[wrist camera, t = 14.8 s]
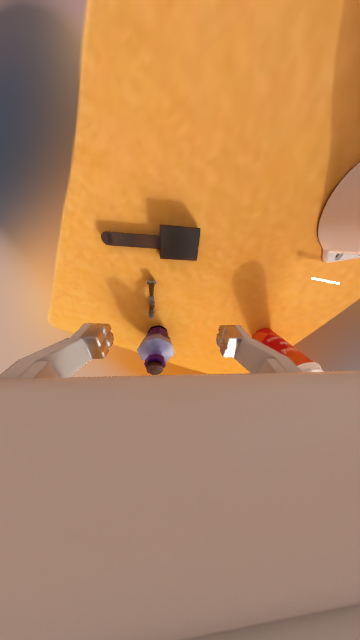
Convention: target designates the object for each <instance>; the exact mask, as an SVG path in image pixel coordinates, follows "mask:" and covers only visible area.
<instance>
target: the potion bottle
mask: <svg viewBox="0 0 360 640" xmlns="http://www.w3.org/2000/svg"><path fill="white" fill-rule="evenodd" d="M138 352H139V355H140V357H141V359H142V360H145V367H146V369H147V372H148V373H150V374H152V375H157V374H160V373H161V372H162V371H163V368H164V367H165V362H167V361H168V360H169V359H170V358H171V357H172V356H173V355H174V351H173V347H172V343H171V340H170V338H169V337H168V334H167V330H166V329H165V328H163V327H161V326H154V327H151V328H150V330H149V331H148V334H147V336H146V337H145V338H144V340H143V341H142V343H141V344H140V346H139V348H138Z"/></svg>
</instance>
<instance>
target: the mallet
mask: <svg viewBox="0 0 360 640" xmlns="http://www.w3.org/2000/svg"><path fill="white" fill-rule="evenodd" d="M101 238H102V241H103V242H104V243H105V244H106V245H113V246H127V247H141V248H156V249H160V259H175V260H192V261H196V260H197V254H198V246H199V238H200V228H193V227H182V226H171V225H160V236H155V235H142V234H130V233H117V232H103V233H102V235H101Z"/></svg>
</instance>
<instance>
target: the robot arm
mask: <svg viewBox="0 0 360 640" xmlns="http://www.w3.org/2000/svg"><path fill="white" fill-rule="evenodd" d="M318 238H319V242H320V244H321V246H322V248H323V255H322V260H323V262H336V261H342V260H348V259H355V258H360V162H359V163H358V164H357V165H356V166H355V167H353V168H352V169H351V170H350V171H349V172H348V173H347V175H346V176H345V177H344V178H343V179H342V180H341V182H340V183H339V184H338V185H337V187H336V188H335V190H334V191H333V193H332V194H331V196H330V198H329V199H328V201H327V203H326V205H325V207H324V210H323V212H322V215H321V218H320V221H319V226H318ZM311 279H314V280H319V281H324V282H329V283H334V284H340V283H337V282H333V281H328V280H323V279H318V278H313V277H312V278H311ZM110 330H111V327H110V325H109V324H98V323H94V324H93V323H86V324H84V325H83V326H82V327H81V328H80V329H79V330H78V331H77V332H76V333H75V334H74V335H73V336H72V337H71V338H67V339H64V340H62V341H60V342H58V343H56V344H53V345H51V346H49V347H47V348H44V349H42V350H40V351H38V352H35V353H33V354H31V355H29V356H27V357H24V358H22V359H20V360H18V361H16V362H15V363H14V364H13V365H11V366H10V367H9V368H8V369H7V370H5V371H4V372H3V373H2V374H0V640H360V371H338V372H302V371H301V370H300V369H299V368H298V367H297V366H296V365H295V364H294V362H293V361H292V360H291V359H290V358H289V357H287V356H285V355H283V354H281V353H279V352H277V351H276V350H274V349H272V348H270V347H268V346H266V345H264V344H262V343H261V342H259V341H257V340H255V339H251V338H250V336H249V335H248V334H247V333H246V331H245V330H244V329H243V328H242V326H240V325H220V327H219V333H218V334H217V338H216V341H217V345H218V346H219V347H220V352H221V354H222V356H223V357H234V358H235V359H236V360H237V361H238V362H239V363H240V364H242V365H243V366H244V367H245V368H246V369H247V370H248V371H250V372H251V373H248V374H203V375H160V376H159V375H158V376H115V377H72V378H71V377H70V376H71V375H72V374H74V373H75V372H76V371H77V370H78V369H80V368H81V367H82V366H83V365H85V364H86V363H88V362H89V361H90V360H91V359H99V358H105V357H106V355H107V353H108V351H109V350H108V348H109V347H111V346H112V344H113V340H114V338H113V334H112V333H111V332H110ZM68 377H70V378H68Z"/></svg>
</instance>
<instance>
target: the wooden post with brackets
mask: <svg viewBox="0 0 360 640" xmlns="http://www.w3.org/2000/svg"><path fill="white" fill-rule="evenodd" d="M147 284H148V285H149V292H150V296H149V302H150V303H149V304H150V310H149V316H150V319H153V316H154V310H153V309H154V308H153V307H155V306H154V296H153V291H154V284H156V282H155V281H147Z"/></svg>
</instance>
